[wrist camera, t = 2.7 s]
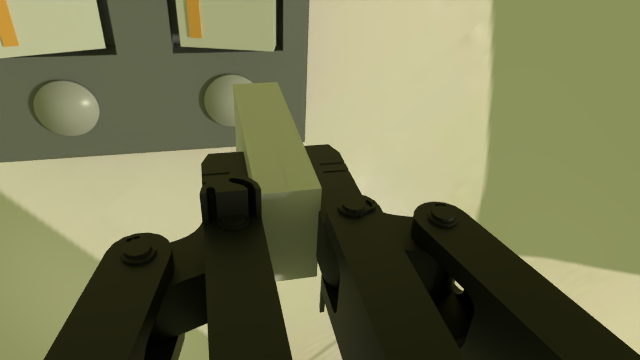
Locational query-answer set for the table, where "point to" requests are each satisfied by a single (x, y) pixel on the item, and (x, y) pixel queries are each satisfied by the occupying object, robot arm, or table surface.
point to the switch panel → (143, 87)
